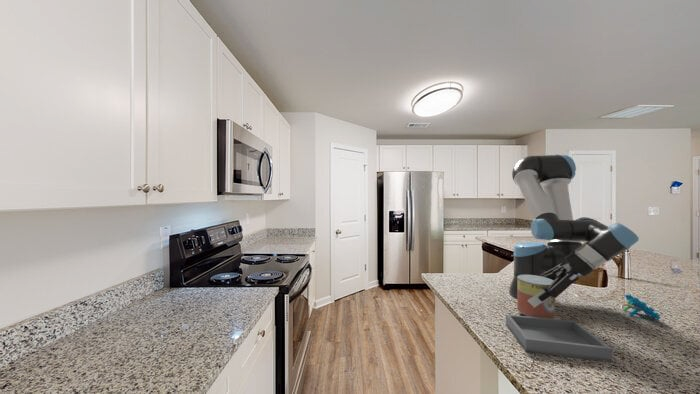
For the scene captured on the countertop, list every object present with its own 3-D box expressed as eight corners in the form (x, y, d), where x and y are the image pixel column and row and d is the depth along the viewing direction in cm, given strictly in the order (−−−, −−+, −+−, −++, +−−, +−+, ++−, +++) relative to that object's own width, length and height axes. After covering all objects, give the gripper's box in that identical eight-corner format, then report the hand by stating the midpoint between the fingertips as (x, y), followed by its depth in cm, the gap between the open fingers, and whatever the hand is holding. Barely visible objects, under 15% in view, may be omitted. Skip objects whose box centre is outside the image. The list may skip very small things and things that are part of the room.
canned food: (540, 322, 87) (540, 286, 87) (509, 308, 98) (510, 276, 98) (563, 316, 91) (563, 282, 91) (531, 303, 102) (531, 273, 102)
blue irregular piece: (669, 320, 89) (640, 296, 92) (654, 331, 90) (626, 307, 93) (645, 311, 99) (620, 290, 102) (632, 321, 100) (607, 299, 103)
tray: (505, 324, 89) (505, 314, 89) (575, 331, 84) (575, 321, 84) (525, 351, 73) (525, 339, 73) (612, 362, 68) (612, 348, 68)
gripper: (609, 279, 77) (543, 320, 84) (582, 261, 97) (532, 295, 105) (585, 259, 79) (523, 301, 86) (564, 245, 100) (516, 280, 107)
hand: (528, 298), depth 96 cm, fingers closed on canned food, 11 cm apart
